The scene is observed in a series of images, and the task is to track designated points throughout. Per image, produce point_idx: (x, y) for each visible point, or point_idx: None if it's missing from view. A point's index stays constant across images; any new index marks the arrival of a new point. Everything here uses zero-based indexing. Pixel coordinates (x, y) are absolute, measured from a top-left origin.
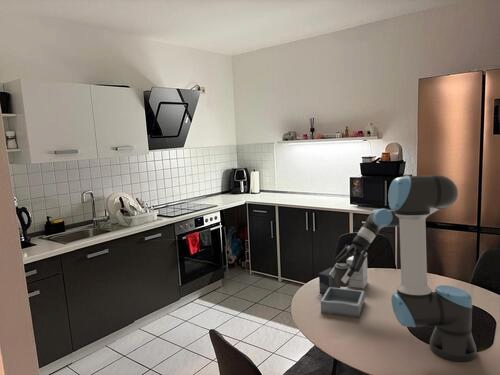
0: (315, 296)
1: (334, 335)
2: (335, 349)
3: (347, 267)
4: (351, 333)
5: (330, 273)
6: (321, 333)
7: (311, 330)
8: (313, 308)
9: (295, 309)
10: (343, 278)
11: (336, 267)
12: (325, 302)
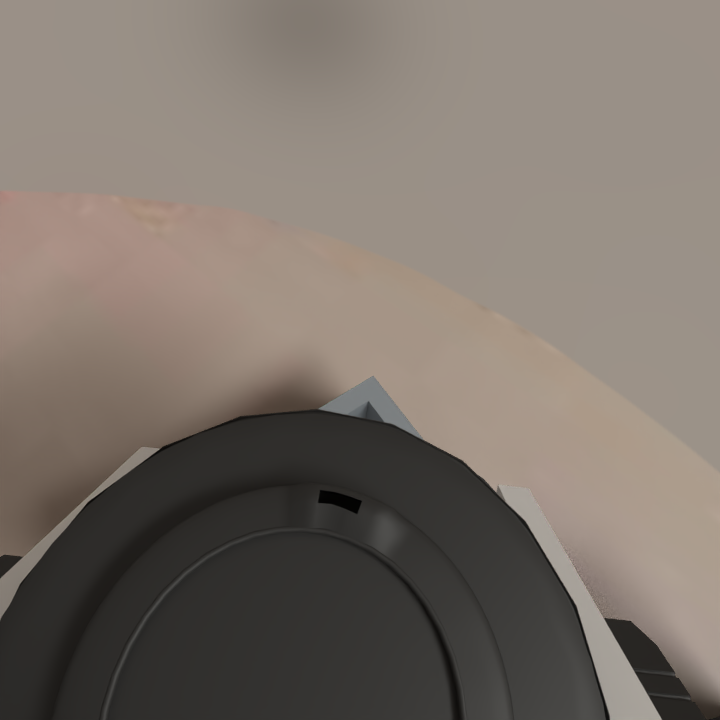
0: (655, 593)
1: (94, 289)
2: (12, 213)
3: (12, 689)
4: (16, 374)
5: (510, 498)
6: (167, 256)
7: (231, 240)
8: (453, 419)
9: (505, 320)
10: (117, 469)
11: (315, 415)
12: (336, 402)
